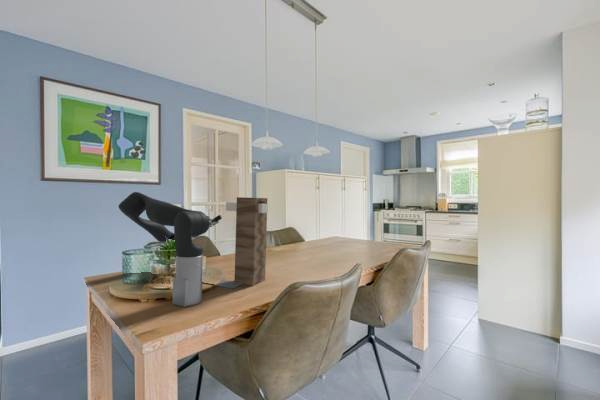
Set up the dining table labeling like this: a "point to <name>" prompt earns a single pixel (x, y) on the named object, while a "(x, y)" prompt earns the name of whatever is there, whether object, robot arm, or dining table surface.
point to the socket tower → (250, 241)
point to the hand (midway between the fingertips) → (215, 217)
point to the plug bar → (233, 206)
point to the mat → (228, 284)
